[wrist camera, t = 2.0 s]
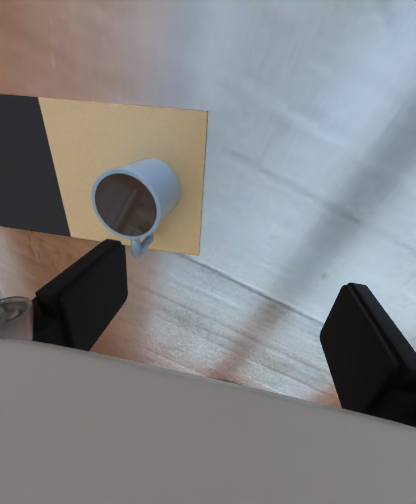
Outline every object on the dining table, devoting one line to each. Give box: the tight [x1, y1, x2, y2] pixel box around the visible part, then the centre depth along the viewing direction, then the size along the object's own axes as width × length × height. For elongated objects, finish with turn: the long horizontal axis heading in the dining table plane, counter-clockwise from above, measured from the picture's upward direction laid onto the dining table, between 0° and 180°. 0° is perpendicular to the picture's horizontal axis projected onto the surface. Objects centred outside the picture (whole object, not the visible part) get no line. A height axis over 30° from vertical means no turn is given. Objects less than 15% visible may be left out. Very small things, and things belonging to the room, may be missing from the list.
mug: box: [92, 158, 181, 258], centre depth 28 cm, size 10×7×8 cm
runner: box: [0, 94, 208, 256], centre depth 32 cm, size 34×18×1 cm, turn 86°
